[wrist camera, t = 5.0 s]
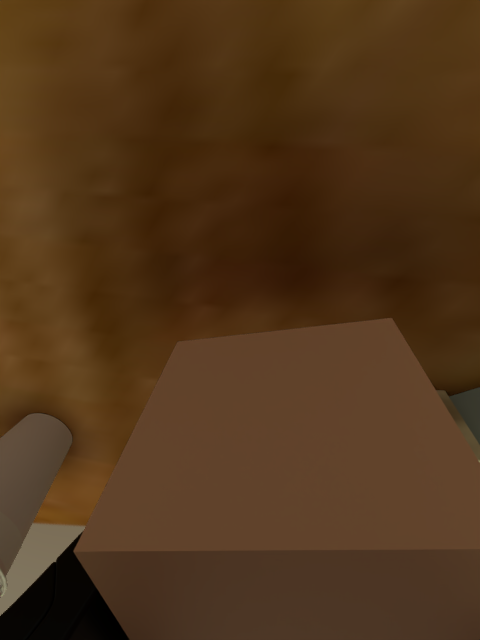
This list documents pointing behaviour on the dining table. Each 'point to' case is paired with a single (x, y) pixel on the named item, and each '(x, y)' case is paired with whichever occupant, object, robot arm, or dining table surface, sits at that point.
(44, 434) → the smoothie
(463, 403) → the slate block
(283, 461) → the terracotta block
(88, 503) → the dining table surface
